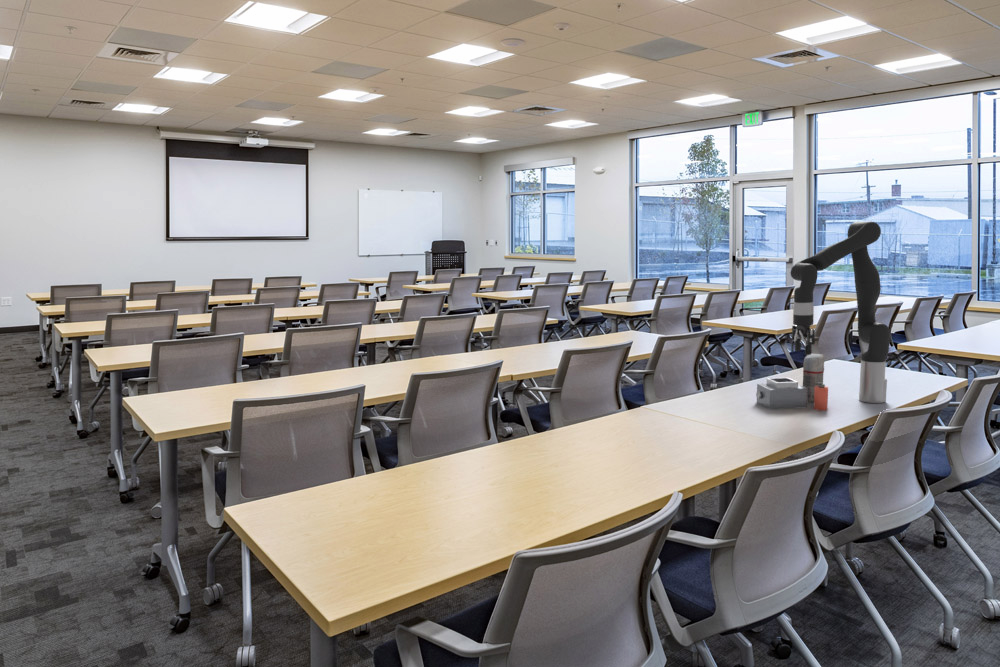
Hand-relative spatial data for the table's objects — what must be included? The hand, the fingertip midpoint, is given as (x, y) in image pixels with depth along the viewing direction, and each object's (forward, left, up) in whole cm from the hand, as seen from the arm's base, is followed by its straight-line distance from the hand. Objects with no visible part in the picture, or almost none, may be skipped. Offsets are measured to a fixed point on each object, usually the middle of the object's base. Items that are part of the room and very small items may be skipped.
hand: (802, 352), depth 288 cm
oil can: (-6, +4, -23) cm, 24 cm away
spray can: (-10, -10, -23) cm, 27 cm away
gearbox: (+6, -5, -23) cm, 24 cm away
